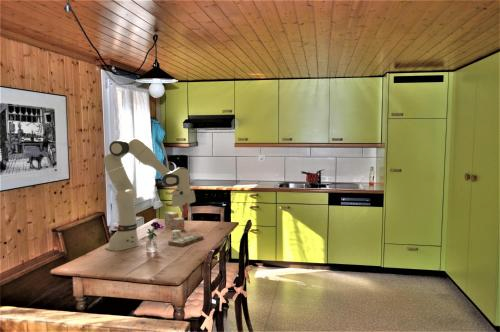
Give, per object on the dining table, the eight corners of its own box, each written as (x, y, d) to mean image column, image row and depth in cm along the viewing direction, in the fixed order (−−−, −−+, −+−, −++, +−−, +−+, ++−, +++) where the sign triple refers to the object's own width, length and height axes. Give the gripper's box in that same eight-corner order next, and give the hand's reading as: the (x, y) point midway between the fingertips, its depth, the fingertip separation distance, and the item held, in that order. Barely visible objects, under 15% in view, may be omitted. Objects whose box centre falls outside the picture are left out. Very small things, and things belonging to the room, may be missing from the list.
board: (181, 246, 260) (181, 243, 260) (168, 244, 266) (168, 241, 266) (203, 238, 279) (203, 235, 279) (190, 236, 286) (190, 233, 285)
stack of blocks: (184, 230, 306) (184, 214, 305) (177, 231, 302) (177, 215, 301) (171, 225, 322) (171, 211, 321) (164, 227, 318) (164, 212, 317)
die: (176, 238, 281) (176, 231, 280) (171, 237, 283) (170, 230, 283) (181, 237, 285) (181, 230, 285) (176, 236, 288) (175, 229, 287)
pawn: (185, 217, 267) (184, 201, 266) (180, 217, 269) (179, 200, 268) (189, 216, 270) (188, 200, 270) (184, 215, 273) (183, 199, 272)
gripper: (190, 188, 279) (191, 207, 280) (169, 192, 262) (170, 213, 263) (197, 189, 275) (197, 208, 277) (176, 193, 258) (177, 213, 259)
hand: (184, 210), depth 270 cm, fingers closed on pawn, 3 cm apart
